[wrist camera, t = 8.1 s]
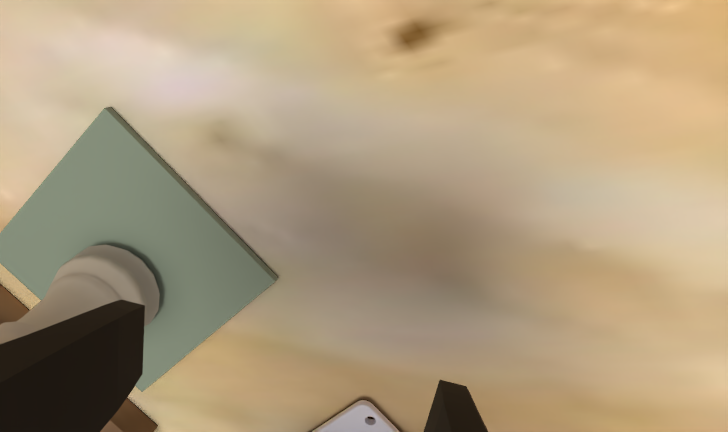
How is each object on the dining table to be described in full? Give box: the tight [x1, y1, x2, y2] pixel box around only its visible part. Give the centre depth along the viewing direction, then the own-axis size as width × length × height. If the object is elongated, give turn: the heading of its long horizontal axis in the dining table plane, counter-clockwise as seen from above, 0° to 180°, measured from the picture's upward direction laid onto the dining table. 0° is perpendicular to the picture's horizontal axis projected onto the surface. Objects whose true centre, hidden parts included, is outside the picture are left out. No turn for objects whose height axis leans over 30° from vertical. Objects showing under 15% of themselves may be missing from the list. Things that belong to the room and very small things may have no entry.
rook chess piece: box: [0, 245, 160, 344], centre depth 19 cm, size 4×4×8 cm
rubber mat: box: [0, 107, 278, 392], centre depth 22 cm, size 10×10×1 cm
